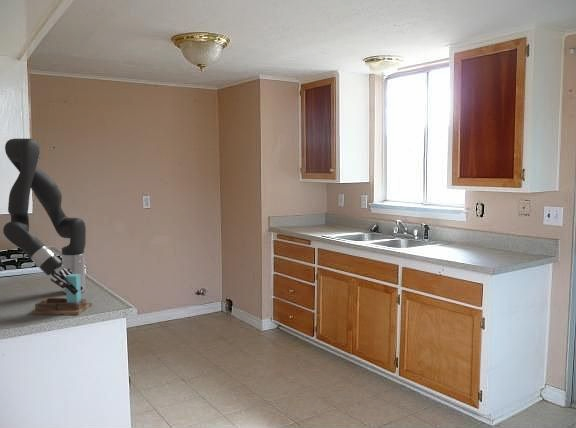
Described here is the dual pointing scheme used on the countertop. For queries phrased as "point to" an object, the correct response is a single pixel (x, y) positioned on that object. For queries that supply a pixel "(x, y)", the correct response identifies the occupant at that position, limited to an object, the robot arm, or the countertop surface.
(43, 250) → the robot arm
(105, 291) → the countertop surface
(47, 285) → the countertop surface
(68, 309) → the keyhole board
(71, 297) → the post
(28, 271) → the countertop surface
